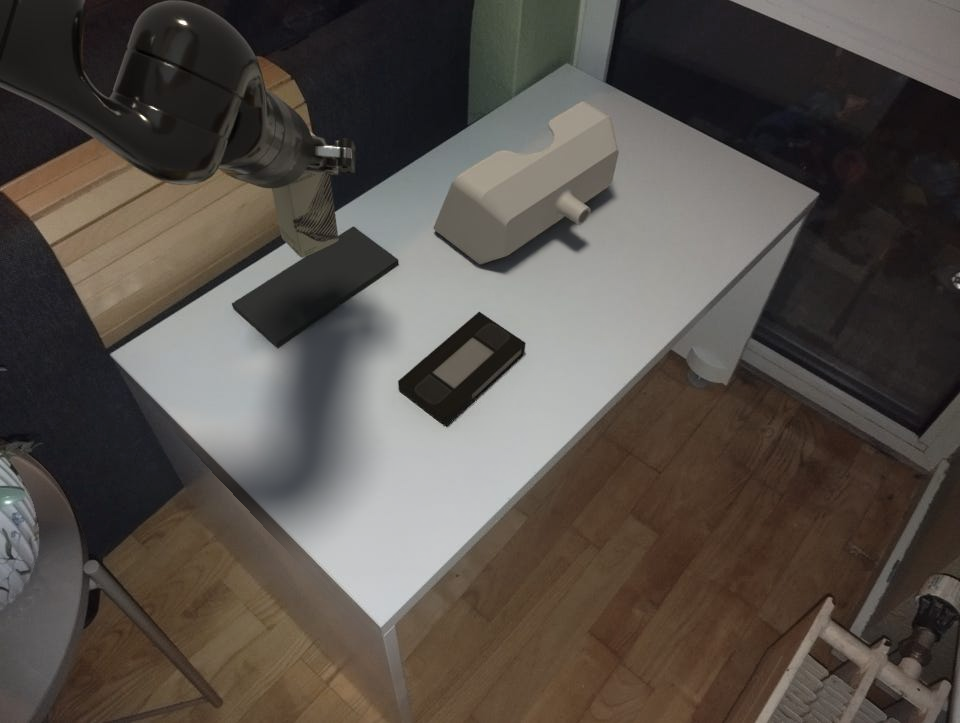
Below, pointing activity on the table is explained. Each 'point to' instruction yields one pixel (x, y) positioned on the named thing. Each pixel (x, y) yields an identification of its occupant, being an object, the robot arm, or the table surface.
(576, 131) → the tank
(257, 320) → the scrub mat
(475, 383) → the vhs tape
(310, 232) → the box
